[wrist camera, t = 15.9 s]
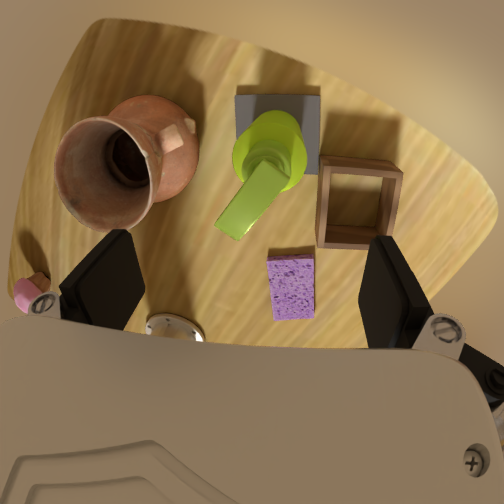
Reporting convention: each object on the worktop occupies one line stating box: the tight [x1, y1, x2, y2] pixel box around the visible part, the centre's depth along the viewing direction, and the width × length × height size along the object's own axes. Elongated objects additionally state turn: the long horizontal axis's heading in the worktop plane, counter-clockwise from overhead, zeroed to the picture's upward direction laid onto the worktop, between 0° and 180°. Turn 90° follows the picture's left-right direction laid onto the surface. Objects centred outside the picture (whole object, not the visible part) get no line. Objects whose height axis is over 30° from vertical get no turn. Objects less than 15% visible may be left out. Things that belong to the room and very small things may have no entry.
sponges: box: [267, 254, 314, 321], centre depth 46 cm, size 7×13×2 cm, turn 8°
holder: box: [315, 155, 403, 250], centre depth 35 cm, size 11×10×5 cm
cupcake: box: [14, 272, 51, 314], centre depth 50 cm, size 9×9×10 cm
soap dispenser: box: [214, 110, 307, 241], centre depth 25 cm, size 6×7×20 cm
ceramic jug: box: [54, 95, 199, 233], centre depth 30 cm, size 18×14×14 cm
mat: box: [235, 94, 320, 175], centre depth 33 cm, size 10×10×1 cm
